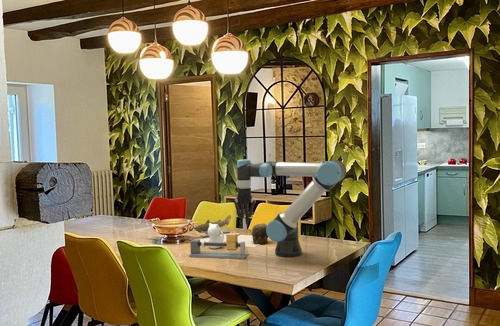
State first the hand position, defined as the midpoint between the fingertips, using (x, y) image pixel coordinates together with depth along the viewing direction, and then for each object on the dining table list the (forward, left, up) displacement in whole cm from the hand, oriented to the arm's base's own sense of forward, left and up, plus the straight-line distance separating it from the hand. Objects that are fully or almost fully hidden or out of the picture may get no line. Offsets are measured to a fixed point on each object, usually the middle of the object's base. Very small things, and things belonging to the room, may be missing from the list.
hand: (245, 229), depth 279 cm
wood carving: (+38, -56, -16) cm, 69 cm away
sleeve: (+8, 0, -11) cm, 14 cm away
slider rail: (+16, 0, -15) cm, 22 cm away
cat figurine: (+24, -20, -16) cm, 35 cm away
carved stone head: (0, -35, -16) cm, 38 cm away
